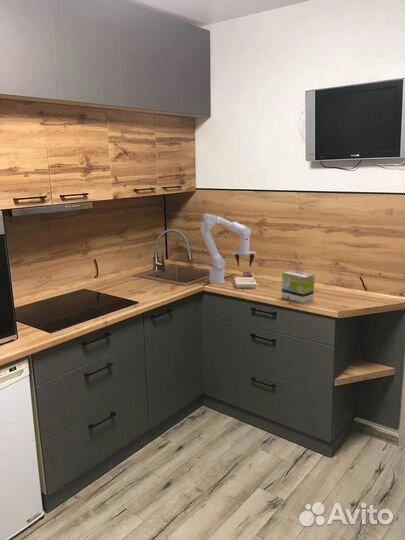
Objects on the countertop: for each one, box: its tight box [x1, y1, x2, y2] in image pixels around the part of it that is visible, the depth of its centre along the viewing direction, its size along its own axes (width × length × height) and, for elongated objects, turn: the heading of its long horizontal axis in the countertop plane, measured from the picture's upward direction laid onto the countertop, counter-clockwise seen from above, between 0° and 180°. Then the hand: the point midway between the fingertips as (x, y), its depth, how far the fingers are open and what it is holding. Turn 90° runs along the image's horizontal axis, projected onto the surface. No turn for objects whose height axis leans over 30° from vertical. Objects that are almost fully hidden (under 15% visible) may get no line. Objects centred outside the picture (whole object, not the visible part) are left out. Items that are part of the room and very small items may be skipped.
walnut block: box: [242, 271, 253, 277], centre depth 298 cm, size 5×8×5 cm, turn 1°
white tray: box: [234, 276, 258, 289], centre depth 285 cm, size 12×17×4 cm
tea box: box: [281, 269, 315, 304], centre depth 256 cm, size 15×10×15 cm
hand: (244, 266), depth 298 cm, fingers open, 7 cm apart
